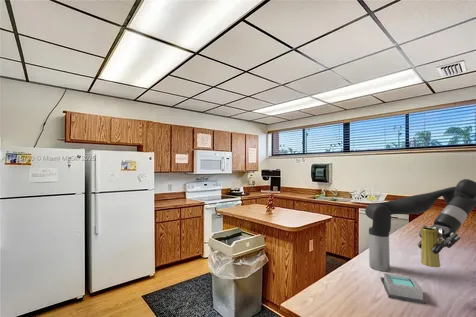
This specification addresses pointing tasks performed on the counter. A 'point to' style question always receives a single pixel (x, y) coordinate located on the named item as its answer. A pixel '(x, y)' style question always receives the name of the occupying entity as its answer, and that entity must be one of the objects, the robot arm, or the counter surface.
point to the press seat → (401, 282)
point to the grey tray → (403, 289)
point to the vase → (429, 247)
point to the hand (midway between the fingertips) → (426, 249)
